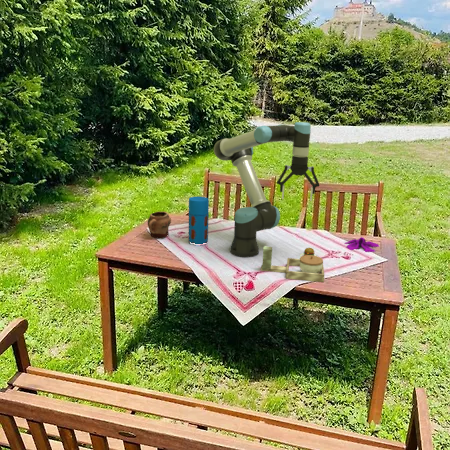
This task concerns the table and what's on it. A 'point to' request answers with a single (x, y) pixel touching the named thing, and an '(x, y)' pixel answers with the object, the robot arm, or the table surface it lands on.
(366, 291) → the table surface
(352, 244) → the cloth
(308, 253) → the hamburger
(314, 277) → the pull frame
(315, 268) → the lidded jar
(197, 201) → the thermos
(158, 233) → the decorative planter
